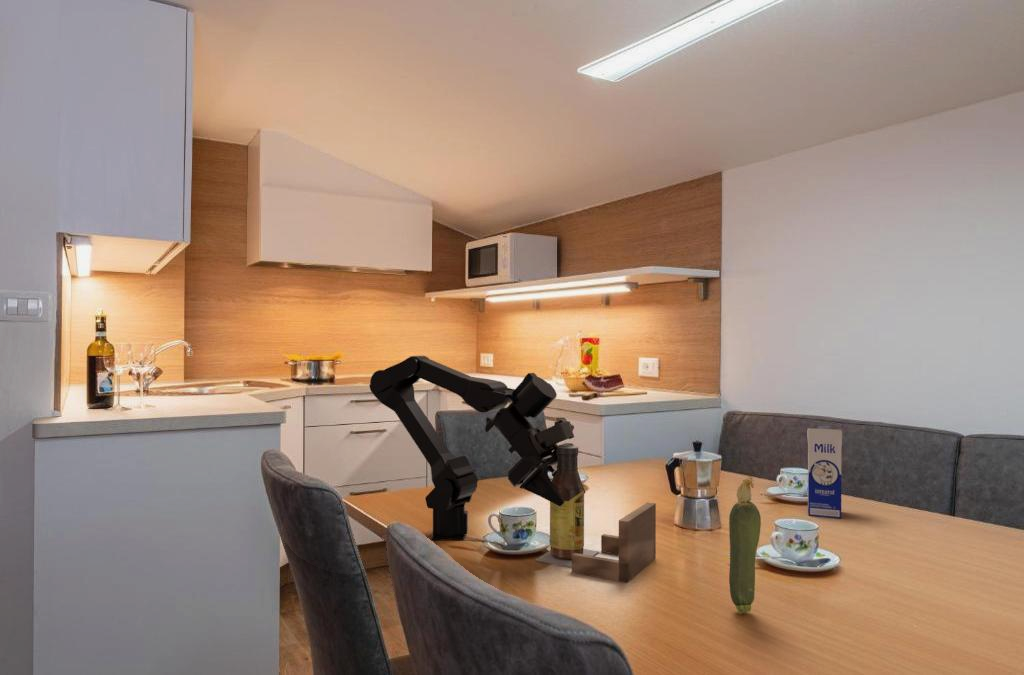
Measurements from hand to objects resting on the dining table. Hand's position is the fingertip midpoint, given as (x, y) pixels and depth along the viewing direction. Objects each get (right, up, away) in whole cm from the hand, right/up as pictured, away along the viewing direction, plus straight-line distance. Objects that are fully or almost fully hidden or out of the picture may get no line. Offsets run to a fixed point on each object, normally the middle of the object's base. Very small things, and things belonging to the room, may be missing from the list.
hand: (573, 499), depth 126 cm
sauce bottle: (-1, -11, +1) cm, 11 cm away
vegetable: (+23, -11, -25) cm, 35 cm away
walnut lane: (+7, -11, -4) cm, 13 cm away
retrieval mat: (-1, -11, 0) cm, 11 cm away
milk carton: (+60, -11, +32) cm, 69 cm away
